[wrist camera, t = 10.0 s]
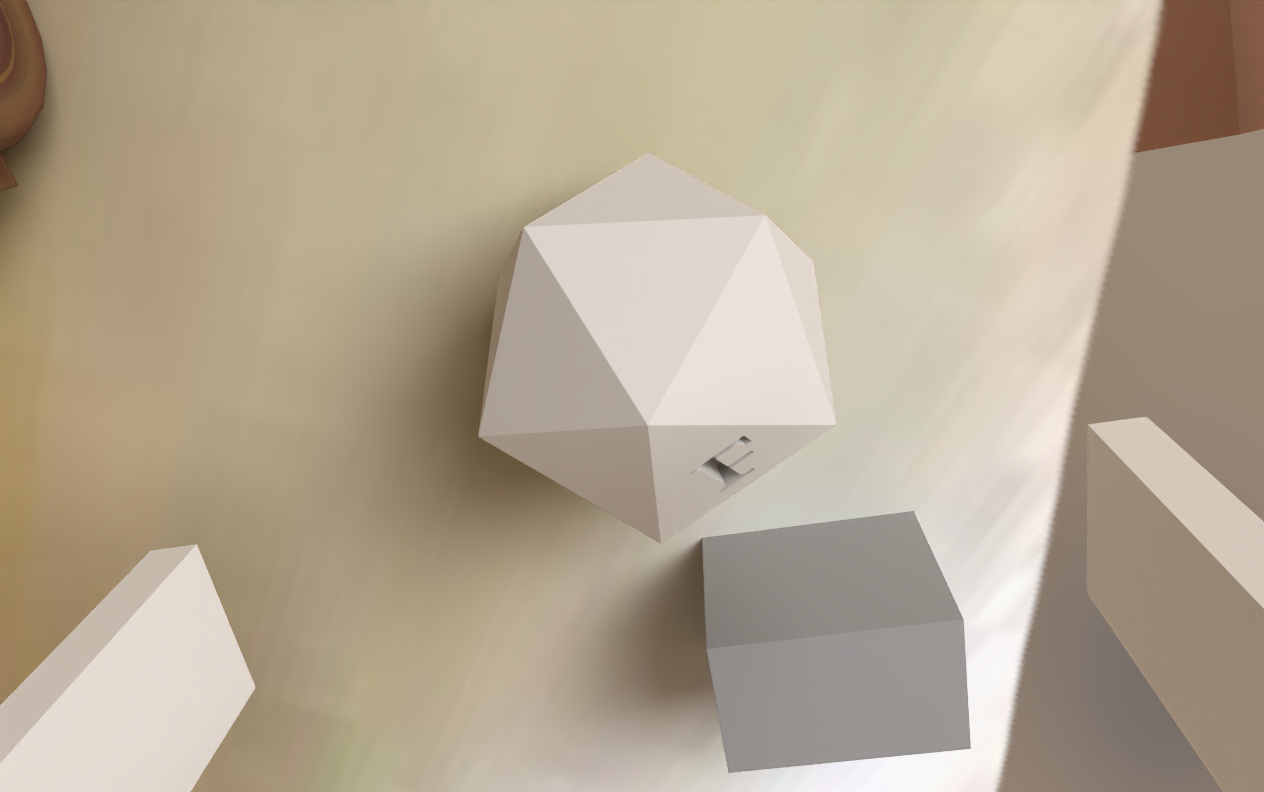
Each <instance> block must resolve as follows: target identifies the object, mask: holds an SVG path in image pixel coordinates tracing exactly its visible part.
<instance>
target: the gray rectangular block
mask: <svg viewBox="0 0 1264 792" xmlns="http://www.w3.org/2000/svg"><path fill="white" fill-rule="evenodd" d="M702 547H703V573H704V599H705V626H706V650H707V655H708V661H709V666H710V672H711V677H712V683H713V689H714V694H715V700H716V705H717V711H718V716H719V722H720V728H721V733H722V739H723V744H724V750H725V755H726V761H727V766H728V772H729V773H731V772H741V771H751V770H761V769H771V768H782V767H792V766H802V765H812V764H822V763H832V762H842V761H852V760H862V759H872V758H882V757H892V756H902V755H912V754H922V753H932V752H942V751H952V750H962V749H971V747H970V729H969V711H968V693H967V675H966V657H965V639H964V621H963V617H962V615H961V613H960V611H959V609H958V607H957V604H956V602H955V600H954V598H953V596H952V594H951V591H950V589H949V587H948V585H947V583H946V581H945V578H944V576H943V574H942V572H941V570H940V568H939V566H938V563H937V561H936V559H935V557H934V555H933V553H932V550H931V548H930V546H929V544H928V542H927V540H926V537H925V535H924V533H923V531H922V529H921V527H920V524H919V522H918V520H917V518H916V516H915V514H914V511H911V512H903V513H896V514H888V515H880V516H872V517H864V518H856V519H849V520H841V521H833V522H825V523H817V524H809V525H802V526H794V527H786V528H778V529H770V530H762V531H755V532H747V533H739V534H731V535H723V536H715V537H707V538H702Z"/></svg>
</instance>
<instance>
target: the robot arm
mask: <svg viewBox="0 0 1264 792" xmlns="http://www.w3.org/2000/svg"><path fill="white" fill-rule="evenodd" d="M1087 504H1088V505H1087V593H1088V595H1089V596H1090V597H1091V599H1092V601H1093V602H1094V603H1095V605H1096V606H1097V608H1098V609H1099V611H1100V612H1101V613H1102V615H1103V617H1104V618H1105V620H1106V621H1107V622H1108V624H1109V625H1110V627H1111V628H1112V630H1113V631H1114V633H1115V634H1116V636H1117V637H1118V639H1119V640H1120V641H1121V643H1122V644H1123V646H1124V647H1125V649H1126V650H1127V652H1128V653H1129V655H1130V656H1131V658H1132V659H1133V661H1134V662H1135V664H1136V665H1137V666H1138V668H1139V669H1140V671H1141V672H1142V674H1143V675H1144V677H1145V678H1146V680H1147V681H1148V683H1149V684H1150V685H1151V687H1152V688H1153V690H1154V691H1155V693H1156V694H1157V696H1158V697H1159V698H1160V700H1161V701H1162V703H1163V705H1164V706H1165V707H1166V709H1167V710H1168V712H1169V713H1170V715H1171V716H1172V718H1173V719H1174V721H1175V722H1176V724H1177V725H1178V726H1179V728H1180V729H1181V731H1182V732H1183V734H1184V735H1185V737H1186V738H1187V740H1188V741H1189V743H1190V744H1191V746H1192V747H1193V748H1194V750H1195V751H1196V753H1197V754H1198V756H1199V757H1200V759H1201V760H1202V762H1203V763H1204V764H1205V766H1206V768H1207V769H1208V770H1209V772H1210V773H1211V775H1212V776H1213V778H1214V779H1215V781H1216V782H1217V784H1218V785H1219V786H1220V788H1221V789H1222V791H1223V792H1264V522H1263V521H1262V520H1261V519H1260V518H1259V517H1258V516H1256V515H1255V514H1254V513H1253V512H1252V511H1251V510H1250V509H1249V508H1248V507H1246V506H1245V505H1244V504H1243V503H1242V502H1241V501H1240V500H1239V499H1237V498H1236V497H1235V496H1234V495H1233V494H1232V493H1231V492H1230V491H1228V489H1226V488H1225V487H1224V486H1223V485H1222V484H1221V483H1220V482H1219V481H1217V480H1216V479H1215V478H1214V477H1213V476H1212V475H1211V474H1209V472H1207V471H1206V470H1205V469H1204V468H1203V467H1202V466H1201V465H1200V464H1198V463H1197V462H1196V461H1195V460H1194V459H1193V458H1192V457H1191V456H1190V455H1188V454H1187V453H1186V452H1185V451H1184V450H1183V449H1182V448H1181V447H1180V446H1178V445H1177V444H1176V443H1175V442H1174V441H1173V440H1172V439H1171V438H1170V437H1168V436H1167V435H1166V434H1165V433H1164V432H1163V431H1162V430H1161V429H1160V428H1158V427H1157V426H1156V425H1155V424H1154V423H1153V422H1152V421H1151V420H1149V419H1148V418H1147V417H1141V418H1134V419H1126V420H1119V421H1111V422H1104V423H1097V424H1089V425H1088V492H1087ZM255 688H256V687H255V685H254V682H253V680H252V678H251V675H250V673H249V670H248V668H247V665H246V663H245V661H244V658H243V656H242V653H241V651H240V648H239V646H238V643H237V641H236V639H235V636H234V634H233V631H232V629H231V626H230V624H229V622H228V619H227V617H226V614H225V612H224V609H223V607H222V605H221V602H220V600H219V597H218V595H217V592H216V590H215V588H214V585H213V583H212V580H211V578H210V575H209V573H208V571H207V568H206V566H205V563H204V561H203V558H202V556H201V553H200V551H199V549H198V546H197V544H196V545H189V546H181V547H174V548H166V549H159V550H151V551H150V552H149V553H148V554H147V555H146V556H145V557H144V558H143V559H142V560H141V561H140V562H139V563H138V564H137V565H136V566H135V567H134V568H133V569H132V570H131V571H130V572H129V573H128V574H127V575H126V576H125V577H124V578H123V579H122V580H121V582H120V583H119V584H118V585H117V586H116V587H115V588H114V589H113V590H112V591H111V592H110V593H109V594H108V595H107V596H106V597H105V598H104V599H103V600H102V601H101V602H100V603H99V604H98V605H97V606H96V607H95V608H94V609H93V610H92V611H91V612H90V613H89V614H88V615H87V617H86V618H85V619H84V620H83V621H82V622H81V623H80V624H79V625H78V626H77V627H76V628H75V629H74V630H73V631H72V632H71V633H70V634H69V635H68V636H67V637H66V638H65V639H64V640H63V641H62V642H61V643H60V644H59V645H58V646H57V647H56V648H55V649H54V651H53V652H52V653H51V654H50V655H49V656H48V657H47V658H46V659H45V660H44V661H43V662H42V663H41V664H40V665H39V666H38V667H37V668H36V669H35V670H34V671H33V672H32V673H31V674H30V675H29V676H28V677H27V678H26V679H25V680H24V681H23V682H22V683H21V684H20V686H19V687H18V688H17V689H16V690H15V691H14V692H13V693H12V694H11V695H10V696H9V697H8V698H7V699H6V700H5V701H4V702H3V703H2V704H1V705H0V792H191V790H192V789H193V787H194V785H195V784H196V782H197V781H198V779H199V777H200V776H201V774H202V773H203V771H204V769H205V768H206V766H207V765H208V763H209V761H210V760H211V758H212V757H213V755H214V753H215V752H216V750H217V749H218V747H219V745H220V744H221V742H222V741H223V739H224V737H225V736H226V734H227V733H228V731H229V729H230V728H231V726H232V725H233V723H234V721H235V720H236V718H237V717H238V715H239V713H240V712H241V710H242V709H243V707H244V705H245V704H246V702H247V701H248V699H249V697H250V696H251V694H252V693H253V691H254V689H255Z"/></svg>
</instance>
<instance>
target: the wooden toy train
mask: <svg viewBox="0 0 1264 792" xmlns="http://www.w3.org/2000/svg"><path fill="white" fill-rule="evenodd" d="M46 74H47V69H46V63H45V57H44V52H43V46H42V40H41V37H40V34H39V31H38V29H37V26H36V24H35V21H34V19H33V16H32V14H31V11H30V8H29V6H28V3H27V2H26V0H0V151H2V150H4V149H6V148H8V147H10V146H12V145H14V144H16V143H19V141H20V140H21V139H22V138H23V136H24V135H25V134H26V133H27V131H28V130H29V129H30V127H31V126H32V124H33V123H34V121H35V119H36V118H37V116H38V115H39V113H40V111H41V110H42V108H43V103H44V94H45V86H46ZM16 186H18V184H17V182H16V181H15V179H14V177H13V175H12V173H11V171H10V169H9V167H8V165H7V163H6V162H5V160H4V158H3V156H2V154H1V152H0V192H1V191H4V190H7V189H10V188H13V187H16Z"/></svg>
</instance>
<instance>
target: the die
mask: <svg viewBox="0 0 1264 792" xmlns="http://www.w3.org/2000/svg"><path fill="white" fill-rule="evenodd" d="M835 425H836V419H835V412H834V405H833V398H832V391H831V384H830V377H829V370H828V362H827V355H826V348H825V341H824V334H823V327H822V320H821V313H820V306H819V299H818V292H817V284H816V277H815V270H814V263H813V261H812V260H811V259H810V258H809V257H808V256H807V255H806V254H805V253H804V252H802V251H801V250H800V249H799V248H798V247H797V246H796V245H795V244H794V243H793V242H792V241H791V240H790V239H789V238H788V237H787V236H786V235H785V234H784V233H783V232H782V231H781V230H780V229H779V228H778V227H777V226H776V225H775V224H774V223H773V222H772V221H771V220H770V219H769V218H768V217H767V216H766V215H764V214H762V213H760V212H758V211H756V210H755V209H753V208H751V207H749V206H747V205H745V204H743V203H742V202H740V201H738V200H736V199H734V198H732V197H730V196H729V195H727V194H725V193H723V192H721V191H719V190H717V189H716V188H714V187H712V186H710V185H708V184H706V183H704V182H703V181H701V180H699V179H697V178H695V177H693V176H691V175H690V174H688V173H686V172H684V171H682V170H680V169H678V168H677V167H675V166H673V165H671V164H669V163H667V162H665V161H664V160H662V159H660V158H658V157H656V156H654V155H652V154H651V153H649V152H648V153H646V154H645V155H643V156H641V157H640V158H638V159H636V160H635V161H633V162H631V163H630V164H628V165H626V166H625V167H623V168H621V169H620V170H618V171H616V172H615V173H613V174H611V175H610V176H608V177H606V178H605V179H603V180H601V181H600V182H598V183H596V184H595V185H593V186H591V187H590V188H588V189H586V190H585V191H583V192H581V193H580V194H578V195H576V196H575V197H573V198H571V199H570V200H568V201H566V202H565V203H563V204H561V205H560V206H558V207H556V208H555V209H553V210H551V211H550V212H548V213H546V214H545V215H543V216H541V217H540V218H538V219H536V220H535V221H533V222H531V223H530V224H528V225H526V226H525V227H523V229H522V231H521V233H520V235H519V237H518V239H517V241H516V243H515V245H514V247H513V249H512V251H511V253H510V255H509V257H508V259H507V261H506V263H505V265H504V267H503V269H502V271H501V273H500V275H499V279H498V287H497V295H496V303H495V310H494V318H493V326H492V333H491V341H490V349H489V357H488V364H487V372H486V380H485V388H484V395H483V403H482V411H481V418H480V426H479V434H478V437H479V438H481V439H483V440H485V441H486V442H488V443H490V444H491V445H493V446H495V447H497V448H498V449H500V450H502V451H503V452H505V453H507V454H509V455H510V456H512V457H514V458H515V459H517V460H519V461H521V462H522V463H524V464H526V465H527V466H529V467H531V468H533V469H534V470H536V471H538V472H539V473H541V474H543V475H545V476H546V477H548V478H550V479H551V480H553V481H555V482H556V483H558V484H560V485H562V486H563V487H565V488H567V489H568V490H570V491H572V492H574V493H575V494H577V495H579V496H580V497H582V498H584V499H586V500H587V501H589V502H591V503H592V504H594V505H596V506H598V507H599V508H601V509H603V510H604V511H606V512H608V513H610V514H611V515H613V516H615V517H616V518H618V519H620V520H622V521H623V522H625V523H627V524H628V525H630V526H632V527H634V528H635V529H637V530H639V531H640V532H642V533H644V534H646V535H647V536H649V537H651V538H652V539H654V540H656V541H657V542H659V543H663V542H664V541H666V540H667V539H668V538H670V537H671V536H673V535H674V534H676V533H677V532H679V531H680V530H682V529H683V528H685V527H686V526H688V525H689V524H691V523H692V522H694V521H695V520H697V519H698V518H700V517H701V516H702V515H704V514H705V513H707V512H708V511H710V510H711V509H713V508H714V507H716V506H717V505H719V504H720V503H722V502H723V501H725V500H726V499H728V498H729V497H731V496H732V495H733V494H735V493H736V492H738V491H739V490H741V489H742V488H744V487H745V486H747V485H748V484H750V483H751V482H753V481H754V480H756V479H757V478H759V477H760V476H762V475H763V474H765V473H766V472H767V471H769V470H770V469H772V468H773V467H775V466H776V465H778V464H779V463H781V462H782V461H784V460H785V459H787V458H788V457H790V456H791V455H793V454H794V453H796V452H797V451H798V450H800V449H801V448H803V447H804V446H806V445H807V444H809V443H810V442H812V441H813V440H815V439H816V438H818V437H819V436H821V435H822V434H824V433H825V432H827V431H828V430H830V429H831V428H832V427H834V426H835Z"/></svg>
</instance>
